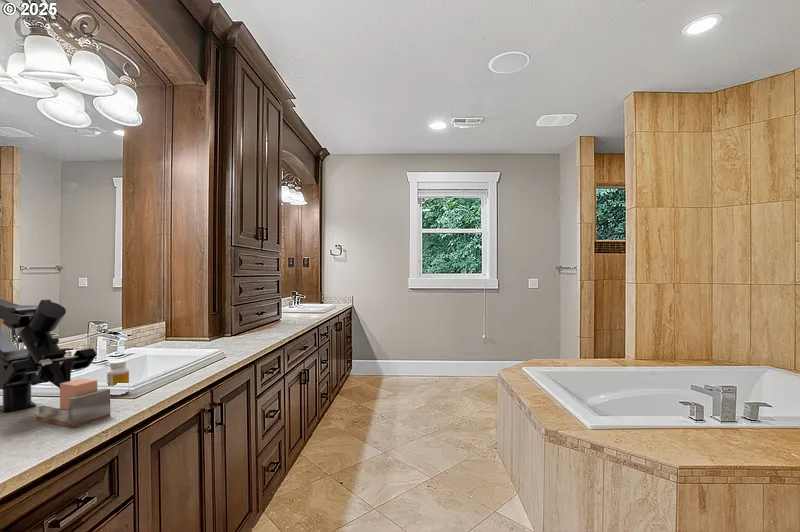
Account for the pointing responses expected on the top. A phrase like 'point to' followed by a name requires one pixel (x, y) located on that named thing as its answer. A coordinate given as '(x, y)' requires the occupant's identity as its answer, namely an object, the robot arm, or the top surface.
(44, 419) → the rail
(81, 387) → the peach knobbed cube
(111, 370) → the supplement bottle
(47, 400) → the top surface
